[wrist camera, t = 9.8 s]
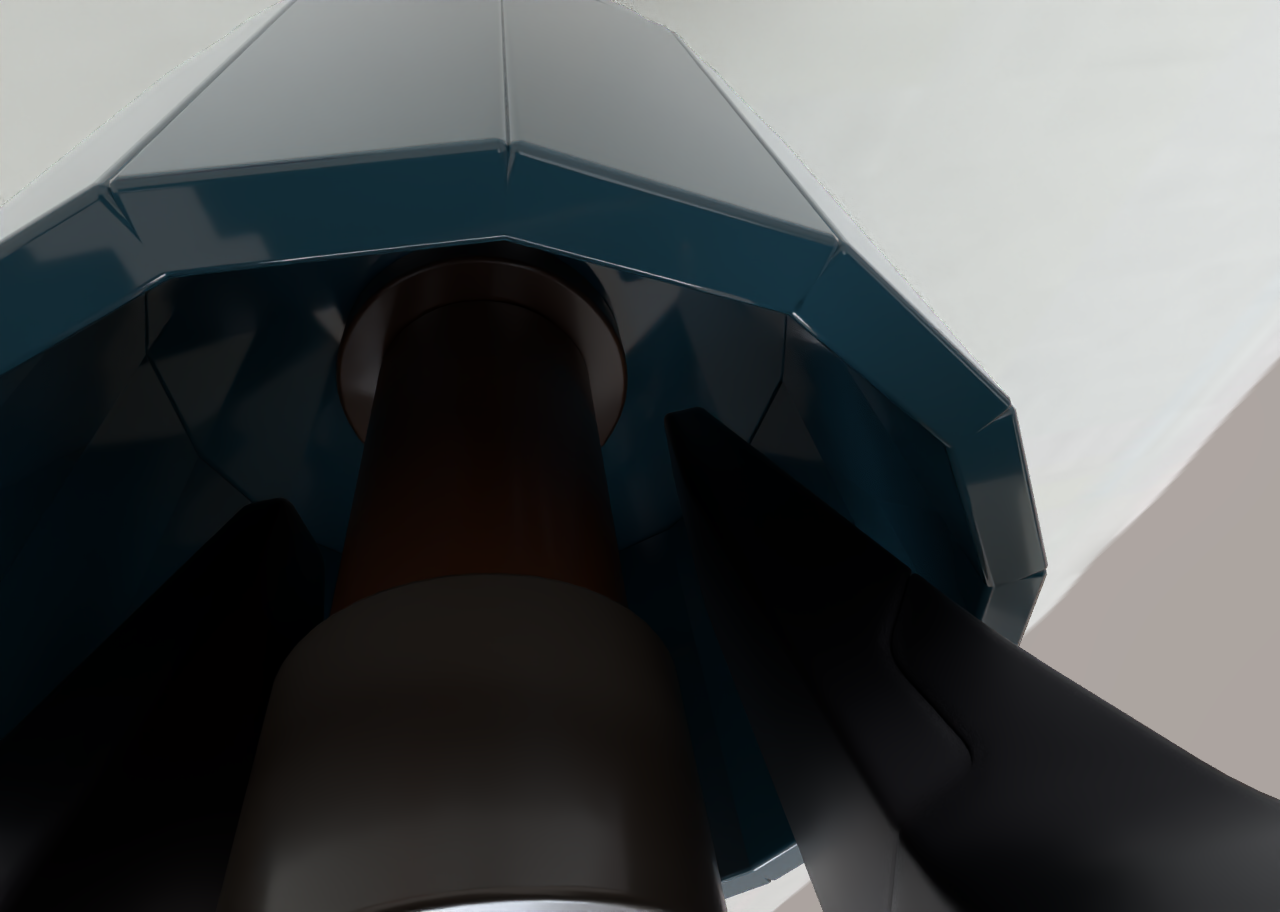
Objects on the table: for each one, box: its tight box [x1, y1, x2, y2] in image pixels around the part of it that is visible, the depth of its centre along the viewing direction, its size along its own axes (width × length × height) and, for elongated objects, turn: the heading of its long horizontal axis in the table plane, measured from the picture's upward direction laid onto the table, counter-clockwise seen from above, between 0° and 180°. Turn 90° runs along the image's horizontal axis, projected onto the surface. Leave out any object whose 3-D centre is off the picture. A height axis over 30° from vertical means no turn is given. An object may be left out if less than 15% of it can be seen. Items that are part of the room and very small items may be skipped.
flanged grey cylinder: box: [216, 241, 727, 912], centre depth 8 cm, size 4×4×7 cm
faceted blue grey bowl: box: [0, 0, 1048, 899], centre depth 9 cm, size 9×9×6 cm
